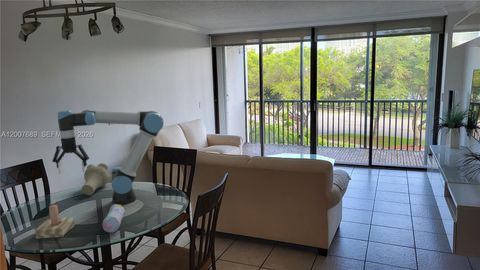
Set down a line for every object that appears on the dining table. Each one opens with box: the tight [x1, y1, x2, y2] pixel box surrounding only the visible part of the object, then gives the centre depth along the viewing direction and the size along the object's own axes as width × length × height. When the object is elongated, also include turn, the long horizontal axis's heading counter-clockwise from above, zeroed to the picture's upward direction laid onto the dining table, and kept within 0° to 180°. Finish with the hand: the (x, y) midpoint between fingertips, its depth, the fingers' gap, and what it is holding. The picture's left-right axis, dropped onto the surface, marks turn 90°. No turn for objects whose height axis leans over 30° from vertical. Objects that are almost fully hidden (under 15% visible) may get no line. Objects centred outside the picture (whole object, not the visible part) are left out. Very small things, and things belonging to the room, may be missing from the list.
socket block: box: [34, 217, 76, 239], centre depth 185 cm, size 14×14×4 cm
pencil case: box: [102, 204, 126, 234], centre depth 189 cm, size 21×9×10 cm, turn 10°
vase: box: [81, 163, 112, 196], centre depth 248 cm, size 22×22×28 cm
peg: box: [48, 204, 60, 226], centre depth 185 cm, size 4×4×14 cm
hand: (72, 172), depth 203 cm, fingers open, 13 cm apart
